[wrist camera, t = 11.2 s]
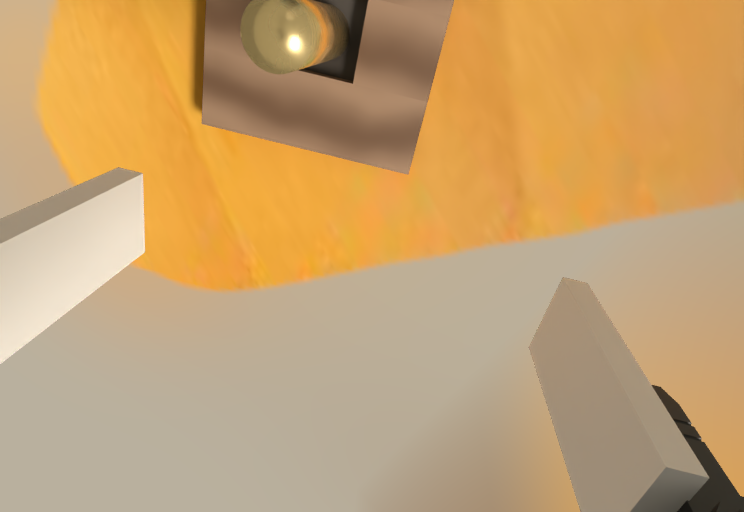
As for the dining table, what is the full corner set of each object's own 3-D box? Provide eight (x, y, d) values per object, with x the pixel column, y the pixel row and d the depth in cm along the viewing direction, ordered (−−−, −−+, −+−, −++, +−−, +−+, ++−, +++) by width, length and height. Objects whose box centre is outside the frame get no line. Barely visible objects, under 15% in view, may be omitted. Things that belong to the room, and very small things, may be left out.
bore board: (223, -139, 31) (211, -149, 29) (473, -78, 31) (476, -85, 29) (211, 119, 40) (201, 123, 38) (409, 168, 39) (408, 174, 38)
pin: (303, -2, 34) (242, -16, 23) (353, 9, 34) (316, 1, 23) (296, 54, 36) (238, 65, 25) (345, 65, 36) (306, 81, 25)
